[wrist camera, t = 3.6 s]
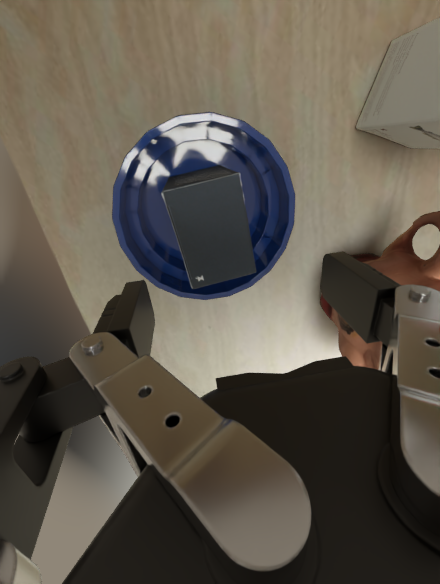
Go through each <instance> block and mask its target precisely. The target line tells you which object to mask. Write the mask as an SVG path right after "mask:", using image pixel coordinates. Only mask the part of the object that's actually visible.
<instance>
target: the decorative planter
mask: <svg viewBox="0 0 440 584" xmlns="http://www.w3.org/2000/svg"><path fill="white" fill-rule="evenodd" d="M427 224H433V225H435V226H436V227H438V229H439V231H440V211H438V212H432V213H428V214H424V215H422V216H421V217H419V218H418V219H417V220H415V221H414V222H413V225H412V226H411V227H410V228H409V229H408V230H407V231H406V232H405V233H403V234H402V235H400V236H399V237H398V238H397V239H396V240H395V241H394V242H392V243H391V244H390V245H389V246H388V247H387V248H386V249H385V250H384V251H383V254H382V256H381V257H380V256H377V255H374V254H370V253H368V254H359V255H353V256H351V257H353V258H354V259H356V260H358V261H360V262H363V263H366V264H368V265H370V266H372V267H373V268H375V269H376V270H378V271H380V272H381V273H383V275H386V276H387V277H389V278H391V279H392V280H394V281H395V282H397V283H399V284H400V285H421V286H426V287H430V288H432V289H435V290H437V291H439V292H440V246H439V248H438V250H437V252H436V253H435V254H434V255H433V257H431V258H430V259H428V260H423V259H420V258H419V257H418V256H417V255H416V254H415V253H414V250H413V247H412V239H413V237H414V235H415V233H416V232H417V230H418V229H419V228H420V227H422V226H424V225H427ZM320 305H321V307H322V309H323V310H324V312H325V313H326V315H327V316H328V317H329V318H330V319H331V320H332V321H333V322H334V323H335V325H336V326H337V328H338V334H339V350H340V352H341V355H342V357H344V356H346V357H347V358H348V359H349V361H350V362H351V363H352V365H353V366H362V367H368V368H373V369H377V370H379V359H380V350H381V346H382V342H381V341H379V342H373V343H368V344H367V343H366V342H365V341H364V340H363V339H362V338H361V337H360V336H359V335H358V334H357V333H356V332H355V331H354V330H353V329H352V328H351V326H350V325H349V324H348V323H347V322H346V321H345V320H344V319H343V318H342V317H341V316H340V315H339V314H338V313H337V312H336V311H335V310H334V308H333V307H332V306H331V305H330V304H329V303H328V302H327V301H326V300H325V299H324V297H323V296H322V295H321V299H320Z"/></svg>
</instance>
